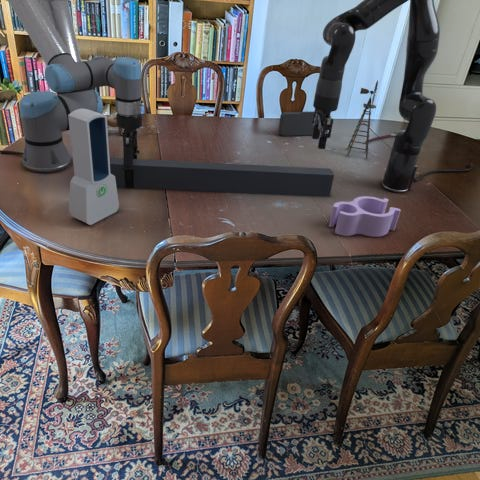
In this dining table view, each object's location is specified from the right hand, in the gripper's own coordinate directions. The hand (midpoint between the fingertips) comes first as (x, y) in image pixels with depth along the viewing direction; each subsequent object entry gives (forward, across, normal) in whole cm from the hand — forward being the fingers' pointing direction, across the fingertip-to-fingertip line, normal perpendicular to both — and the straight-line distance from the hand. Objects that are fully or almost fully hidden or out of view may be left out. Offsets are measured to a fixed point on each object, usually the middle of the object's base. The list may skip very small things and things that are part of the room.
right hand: (318, 143), depth 150 cm
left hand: (+16, 0, +60) cm, 62 cm away
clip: (+18, -22, -12) cm, 30 cm away
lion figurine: (+18, +45, +71) cm, 86 cm away
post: (+18, 0, +30) cm, 35 cm away
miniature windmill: (+18, +37, -28) cm, 50 cm away
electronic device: (+18, -20, +68) cm, 73 cm away
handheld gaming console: (+18, +56, -9) cm, 60 cm away
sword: (+18, +58, -49) cm, 78 cm away
